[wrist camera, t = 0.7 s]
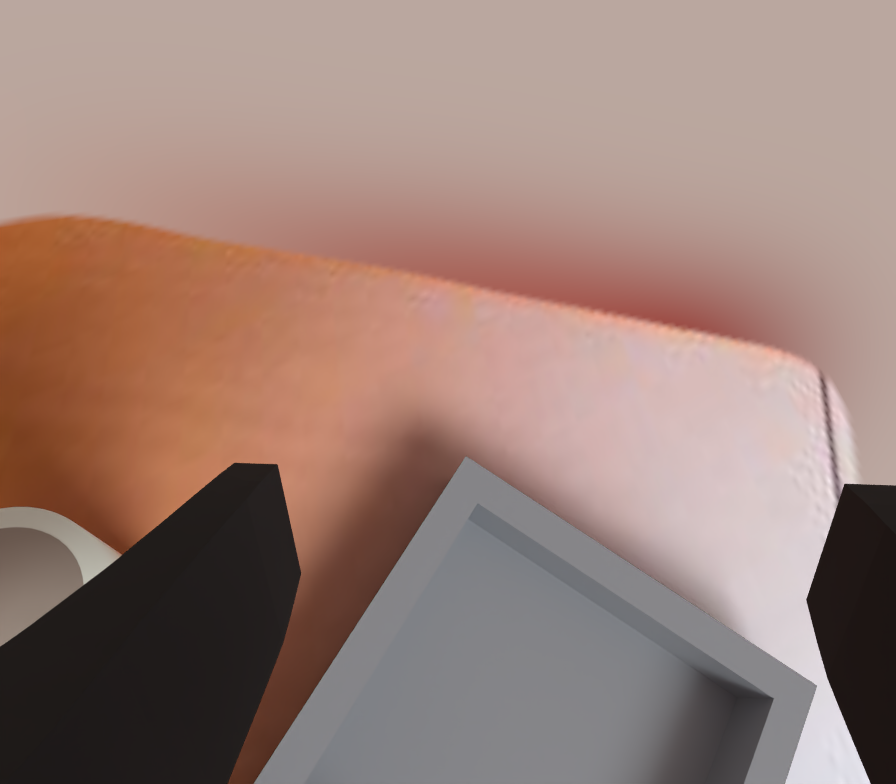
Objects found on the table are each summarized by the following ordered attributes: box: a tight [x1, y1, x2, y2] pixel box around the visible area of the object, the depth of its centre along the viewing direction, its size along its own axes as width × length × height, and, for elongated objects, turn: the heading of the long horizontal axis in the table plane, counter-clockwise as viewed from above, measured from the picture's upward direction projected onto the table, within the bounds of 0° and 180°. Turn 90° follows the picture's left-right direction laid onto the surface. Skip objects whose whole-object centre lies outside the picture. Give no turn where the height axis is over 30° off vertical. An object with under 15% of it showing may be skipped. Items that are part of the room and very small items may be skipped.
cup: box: [0, 507, 122, 646], centre depth 19 cm, size 4×4×8 cm
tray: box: [254, 456, 817, 784], centre depth 22 cm, size 14×14×3 cm
